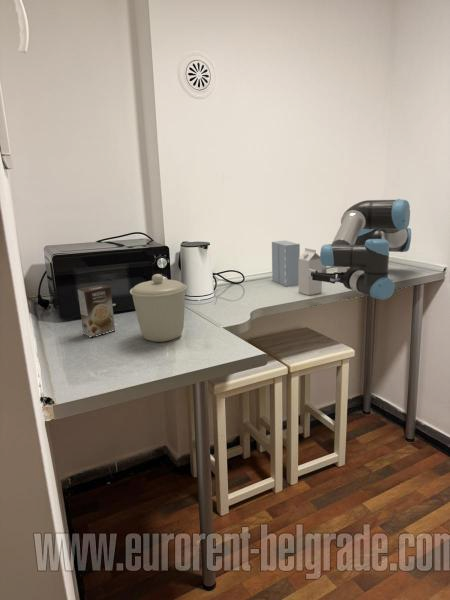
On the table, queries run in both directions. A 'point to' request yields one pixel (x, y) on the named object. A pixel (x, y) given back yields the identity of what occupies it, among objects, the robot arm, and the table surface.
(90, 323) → the coffee box
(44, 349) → the table surface
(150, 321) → the canister
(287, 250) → the pack
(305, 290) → the milk carton
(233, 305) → the table surface
